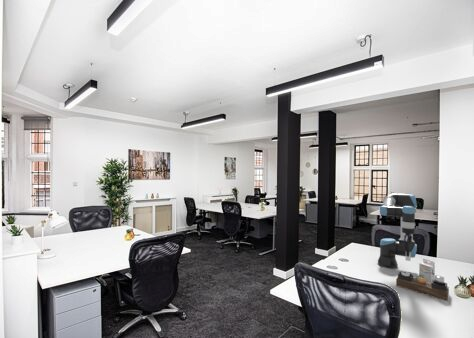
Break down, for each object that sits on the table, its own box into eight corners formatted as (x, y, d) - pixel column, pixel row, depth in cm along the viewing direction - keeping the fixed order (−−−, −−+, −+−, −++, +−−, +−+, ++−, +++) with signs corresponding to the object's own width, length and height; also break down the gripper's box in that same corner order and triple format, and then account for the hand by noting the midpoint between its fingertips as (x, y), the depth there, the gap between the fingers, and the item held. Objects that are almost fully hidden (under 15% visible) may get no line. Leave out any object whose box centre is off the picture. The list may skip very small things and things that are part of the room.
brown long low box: (399, 280, 184) (400, 270, 184) (448, 294, 164) (448, 282, 164) (396, 285, 175) (396, 274, 175) (447, 300, 156) (447, 288, 156)
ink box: (418, 277, 190) (418, 258, 191) (422, 276, 192) (422, 258, 193) (431, 282, 182) (431, 262, 183) (435, 281, 184) (435, 261, 185)
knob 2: (434, 280, 167) (435, 274, 167) (444, 282, 163) (444, 276, 163) (434, 282, 163) (434, 276, 163) (443, 285, 160) (443, 279, 160)
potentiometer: (418, 280, 173) (418, 276, 173) (426, 282, 170) (426, 278, 170) (417, 282, 170) (417, 277, 170) (425, 284, 167) (425, 279, 167)
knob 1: (402, 276, 180) (402, 270, 180) (410, 278, 176) (410, 273, 176) (400, 278, 176) (400, 272, 176) (408, 280, 173) (408, 274, 173)
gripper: (412, 229, 169) (412, 264, 168) (416, 227, 178) (416, 259, 177) (400, 228, 174) (399, 261, 174) (404, 225, 183) (403, 257, 183)
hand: (408, 260), depth 175 cm, fingers closed
